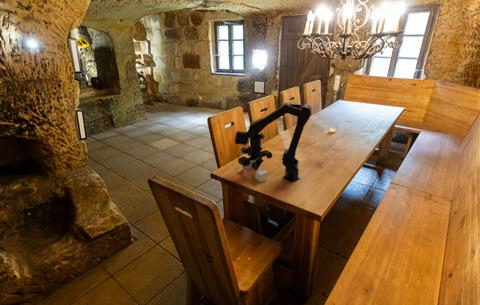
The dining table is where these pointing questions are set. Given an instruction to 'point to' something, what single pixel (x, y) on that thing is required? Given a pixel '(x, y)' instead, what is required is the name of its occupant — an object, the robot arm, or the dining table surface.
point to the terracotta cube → (249, 172)
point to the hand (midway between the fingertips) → (255, 171)
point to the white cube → (261, 175)
